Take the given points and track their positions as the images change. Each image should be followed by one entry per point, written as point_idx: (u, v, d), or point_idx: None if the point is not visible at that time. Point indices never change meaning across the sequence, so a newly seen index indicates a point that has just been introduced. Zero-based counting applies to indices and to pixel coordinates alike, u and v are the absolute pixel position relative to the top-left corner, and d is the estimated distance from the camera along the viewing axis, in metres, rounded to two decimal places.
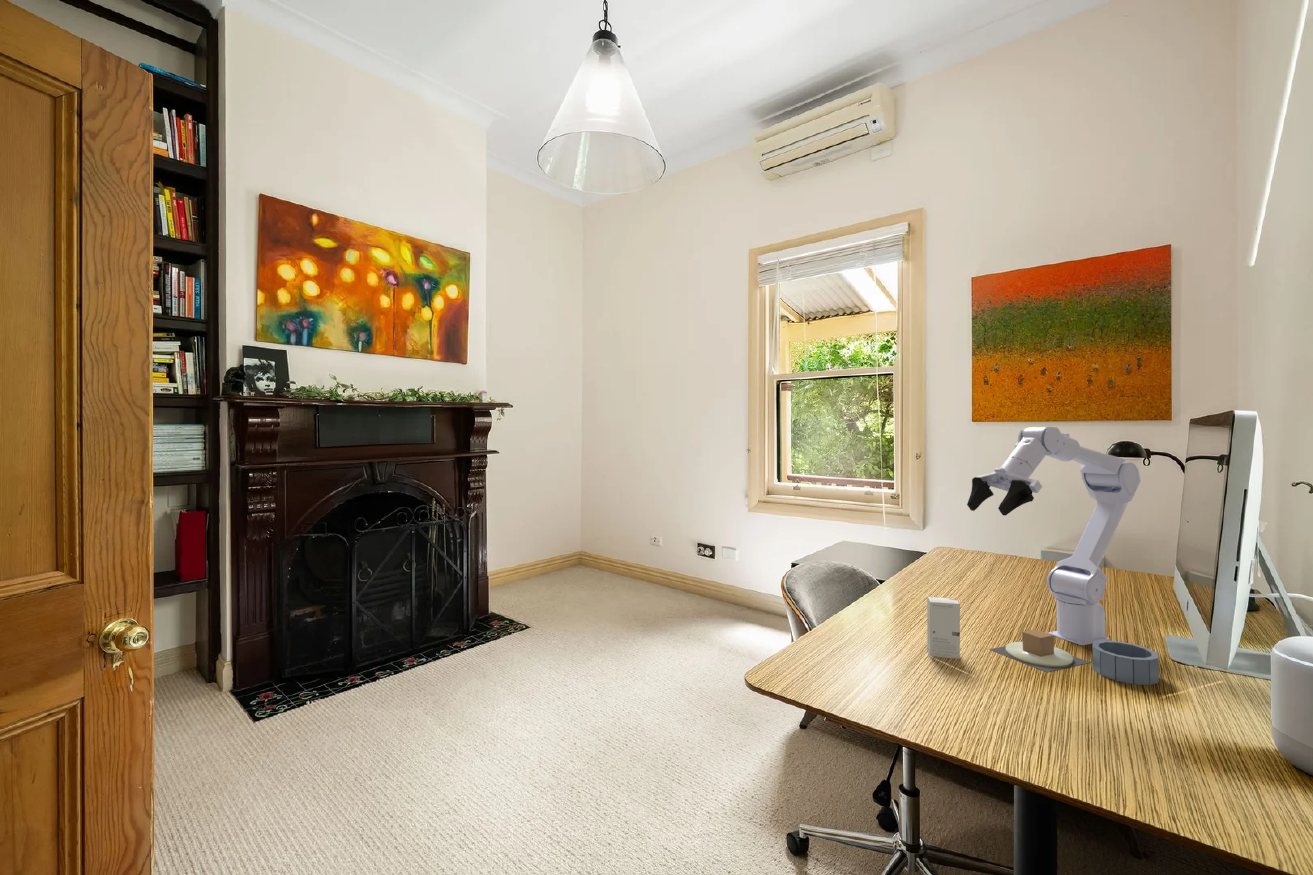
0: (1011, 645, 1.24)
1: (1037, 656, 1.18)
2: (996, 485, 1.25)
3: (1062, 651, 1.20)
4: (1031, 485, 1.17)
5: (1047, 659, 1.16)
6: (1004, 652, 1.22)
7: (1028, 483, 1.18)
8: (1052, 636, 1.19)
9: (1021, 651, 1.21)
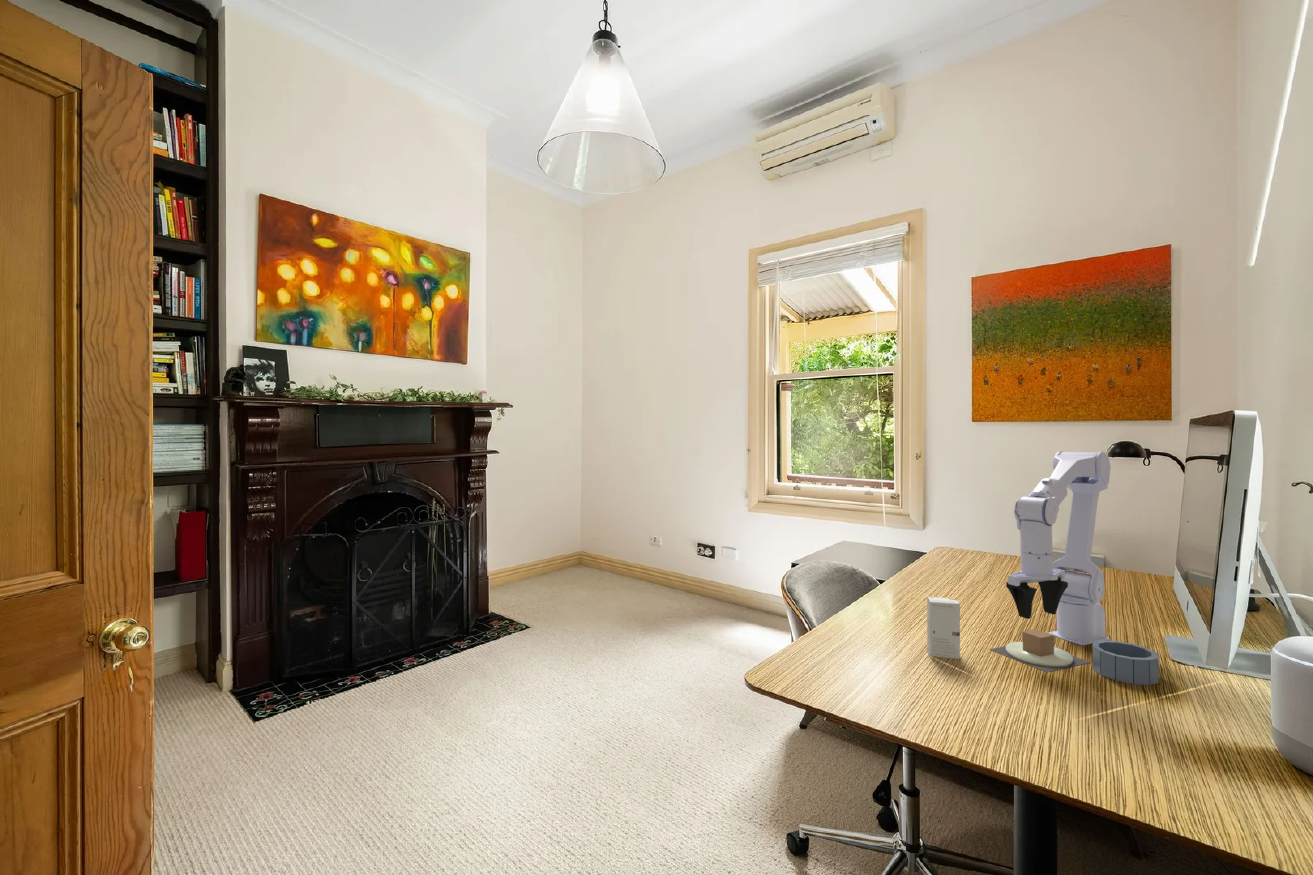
0: (1011, 645, 1.24)
1: (1037, 656, 1.18)
2: None
3: (1062, 651, 1.20)
4: (1063, 578, 1.21)
5: (1047, 659, 1.16)
6: (1004, 652, 1.22)
7: None
8: (1052, 636, 1.19)
9: (1021, 651, 1.21)
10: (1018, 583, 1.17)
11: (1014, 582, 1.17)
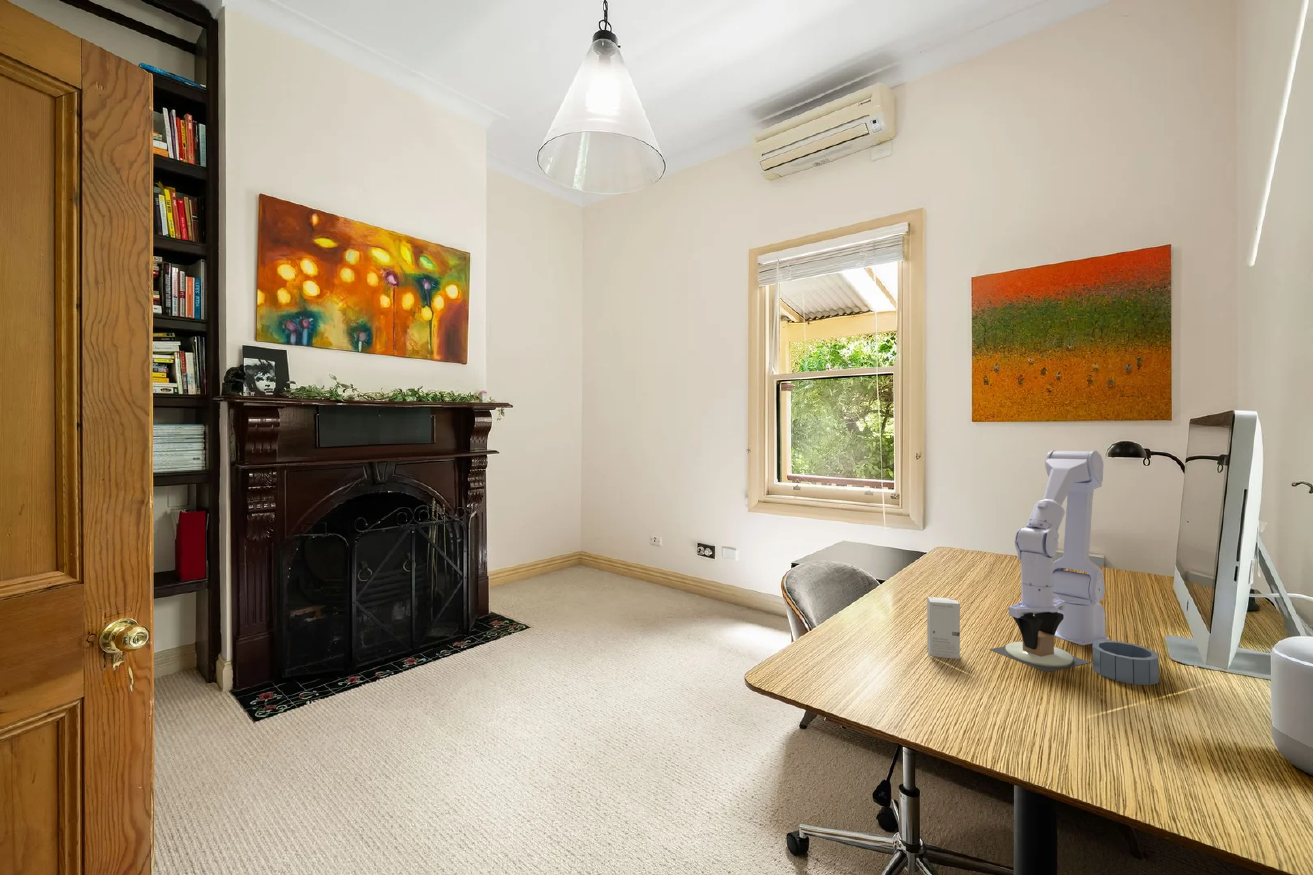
0: (1011, 645, 1.24)
1: (1037, 656, 1.18)
2: None
3: (1062, 651, 1.20)
4: (1063, 609, 1.21)
5: (1047, 659, 1.16)
6: (1004, 652, 1.22)
7: None
8: (1052, 636, 1.19)
9: (1021, 651, 1.21)
10: (1019, 615, 1.17)
11: (1014, 614, 1.17)
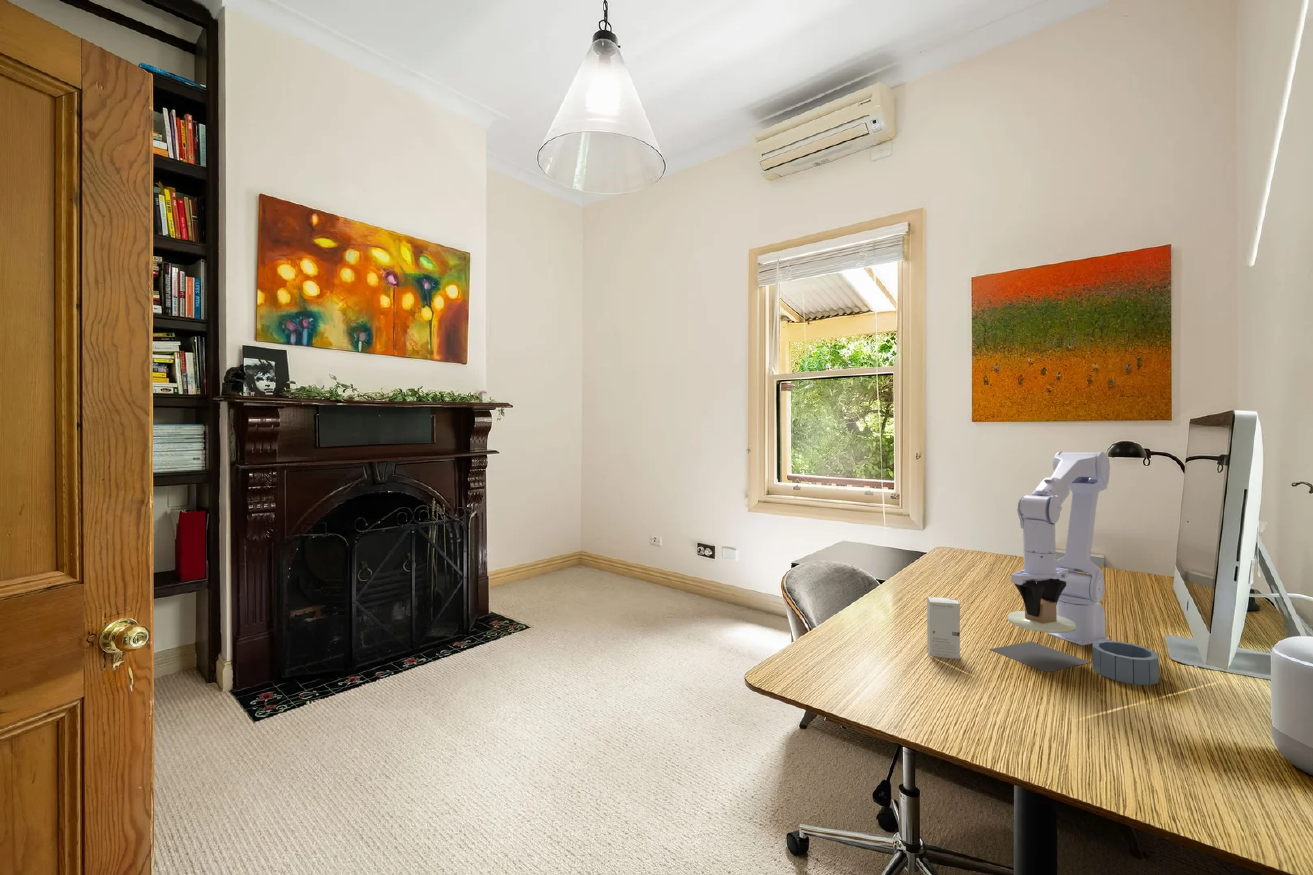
0: (1013, 613, 1.24)
1: (1039, 623, 1.17)
2: None
3: (1065, 619, 1.20)
4: (1066, 577, 1.21)
5: (1050, 625, 1.16)
6: (1004, 652, 1.22)
7: None
8: (1055, 603, 1.18)
9: (1023, 619, 1.20)
10: (1021, 582, 1.17)
11: (1017, 581, 1.17)
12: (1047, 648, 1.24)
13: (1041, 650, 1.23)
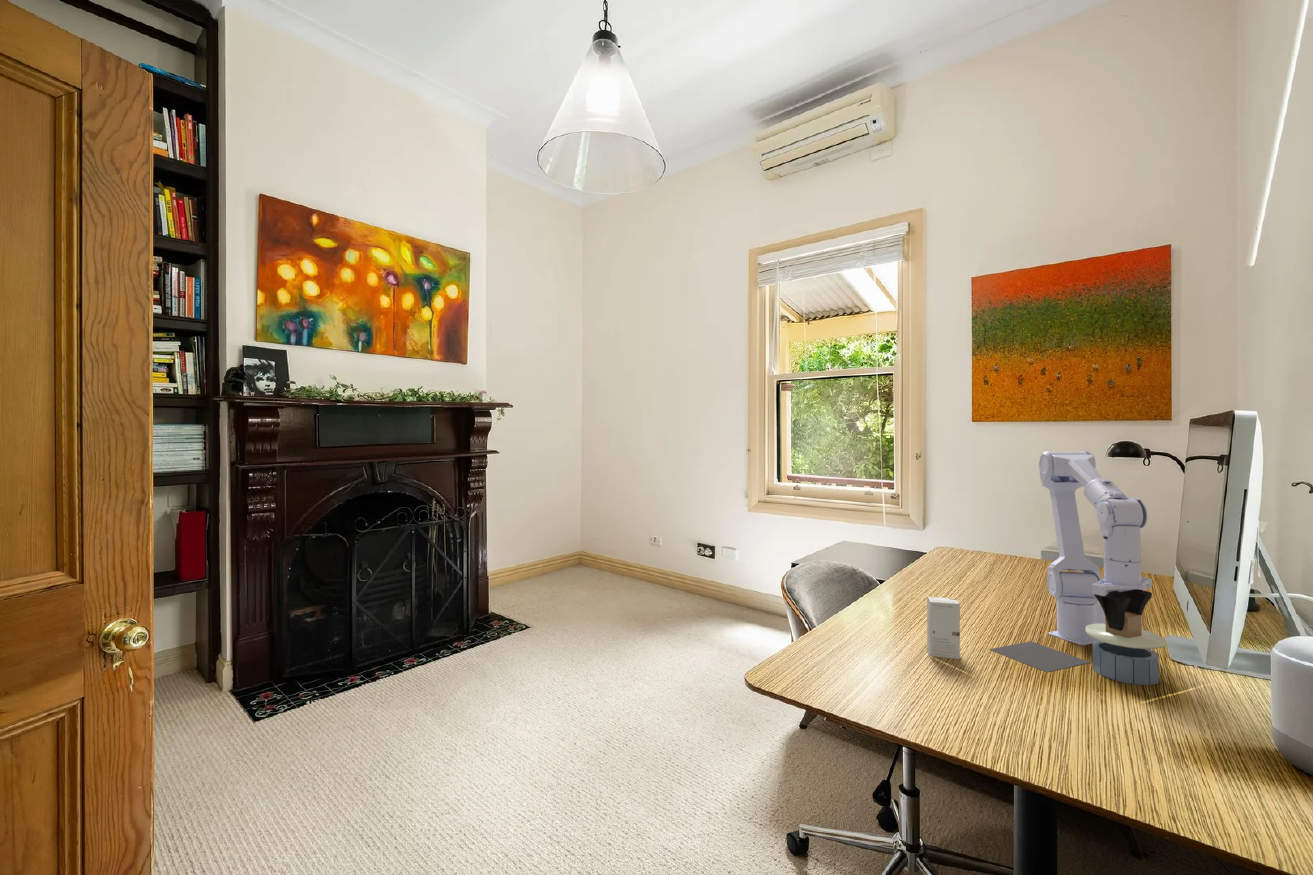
0: (1091, 626, 1.15)
1: (1124, 638, 1.08)
2: None
3: (1149, 633, 1.11)
4: (1150, 587, 1.12)
5: (1136, 640, 1.07)
6: (1004, 652, 1.22)
7: None
8: (1139, 616, 1.09)
9: (1104, 633, 1.11)
10: (1104, 593, 1.07)
11: (1099, 592, 1.08)
12: (1047, 648, 1.24)
13: (1041, 650, 1.23)
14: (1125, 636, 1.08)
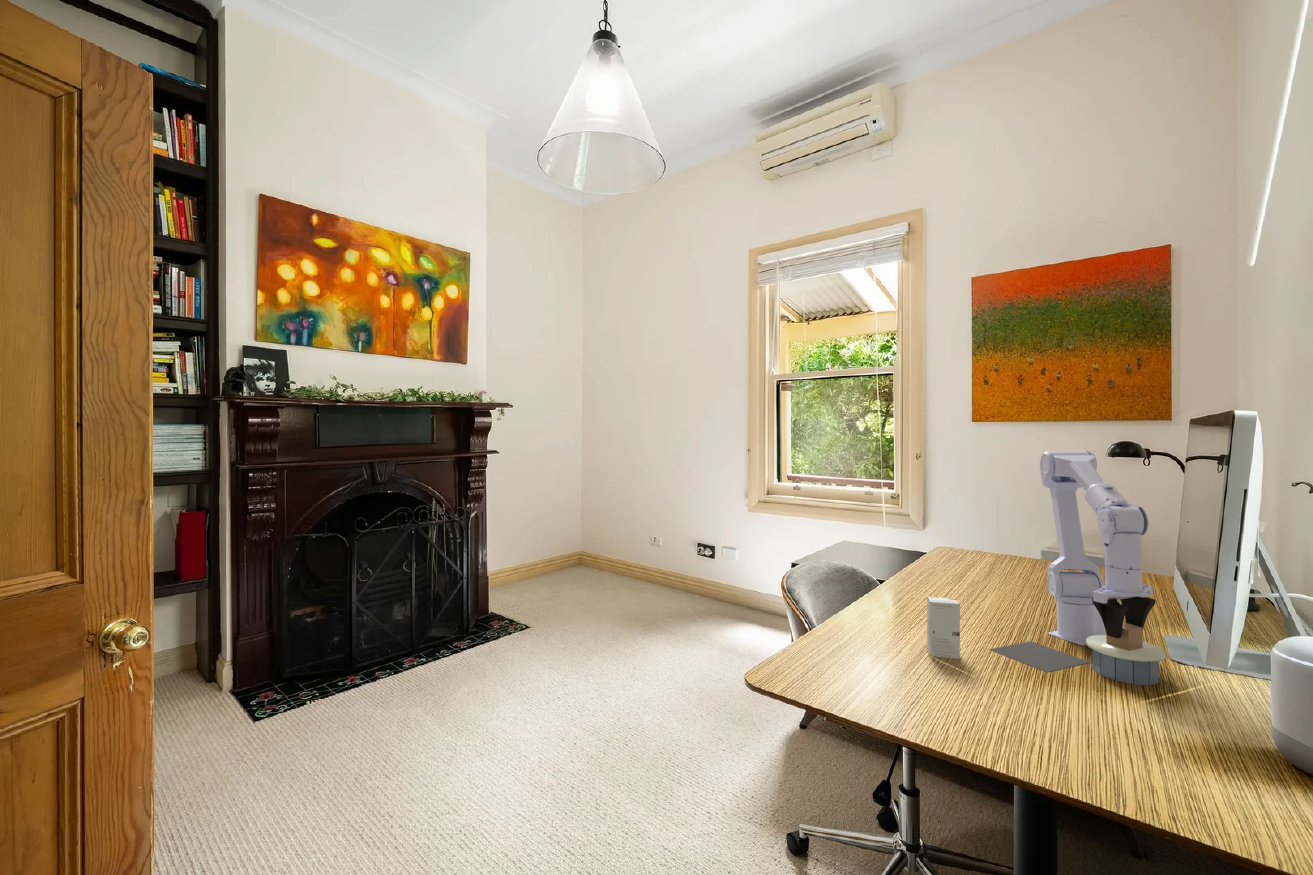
0: (1092, 638, 1.15)
1: (1125, 650, 1.08)
2: None
3: (1150, 645, 1.10)
4: (1150, 594, 1.12)
5: (1137, 653, 1.07)
6: (1004, 652, 1.22)
7: (1144, 590, 1.12)
8: (1140, 628, 1.09)
9: (1105, 645, 1.11)
10: (1105, 600, 1.07)
11: (1100, 600, 1.08)
12: (1047, 648, 1.24)
13: (1041, 650, 1.23)
14: (1126, 648, 1.08)
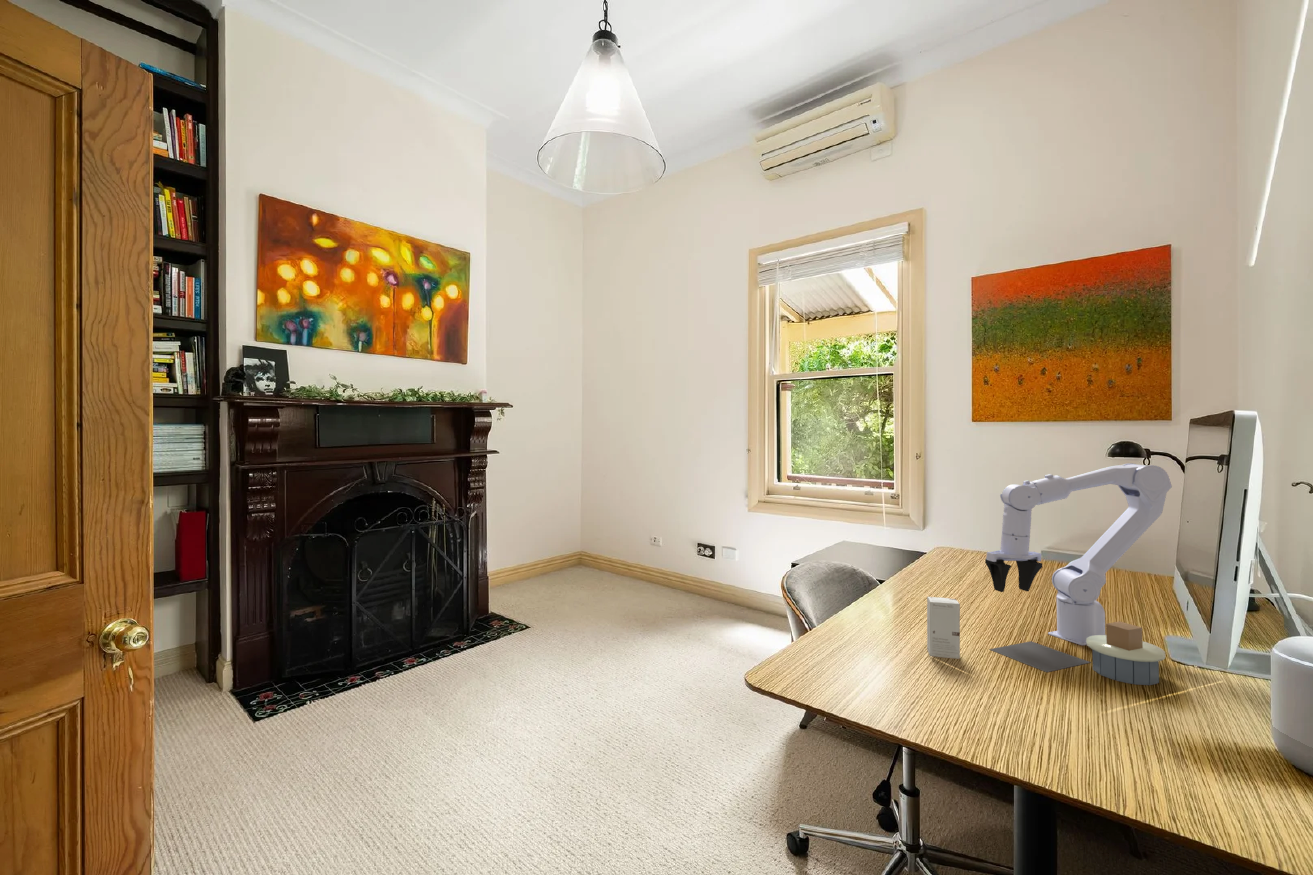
0: (1092, 638, 1.15)
1: (1125, 650, 1.08)
2: None
3: (1150, 645, 1.10)
4: (1039, 560, 1.34)
5: (1137, 653, 1.07)
6: (1004, 652, 1.22)
7: (1033, 556, 1.34)
8: (1140, 628, 1.09)
9: (1105, 645, 1.11)
10: (994, 559, 1.31)
11: (991, 558, 1.31)
12: (1047, 648, 1.24)
13: (1041, 650, 1.23)
14: (1126, 648, 1.08)
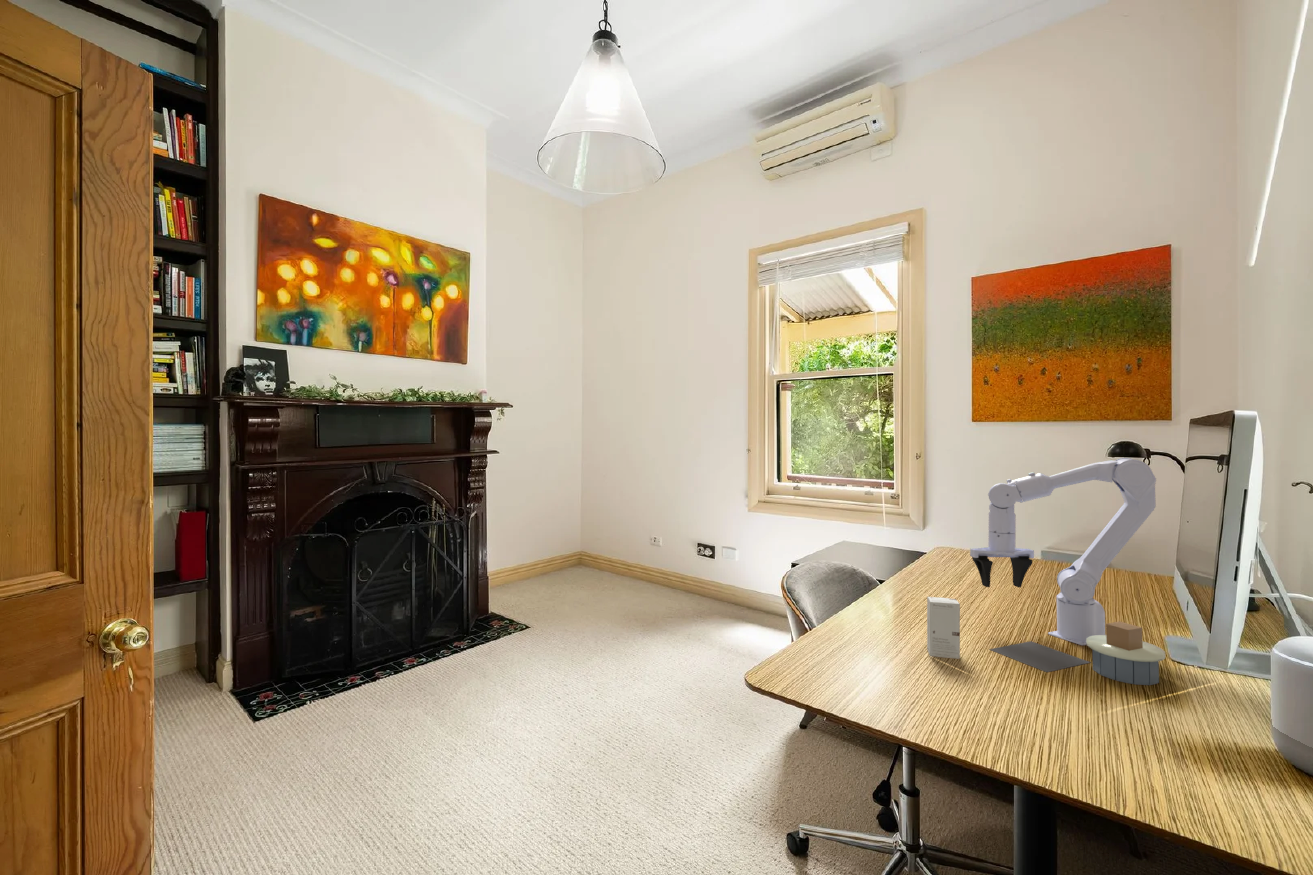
0: (1092, 638, 1.15)
1: (1125, 650, 1.08)
2: (995, 556, 1.38)
3: (1150, 645, 1.10)
4: (1031, 557, 1.37)
5: (1137, 653, 1.07)
6: (1004, 652, 1.22)
7: None
8: (1140, 628, 1.09)
9: (1105, 645, 1.11)
10: (976, 555, 1.37)
11: (973, 555, 1.38)
12: (1047, 648, 1.24)
13: (1041, 650, 1.23)
14: (1126, 648, 1.08)
